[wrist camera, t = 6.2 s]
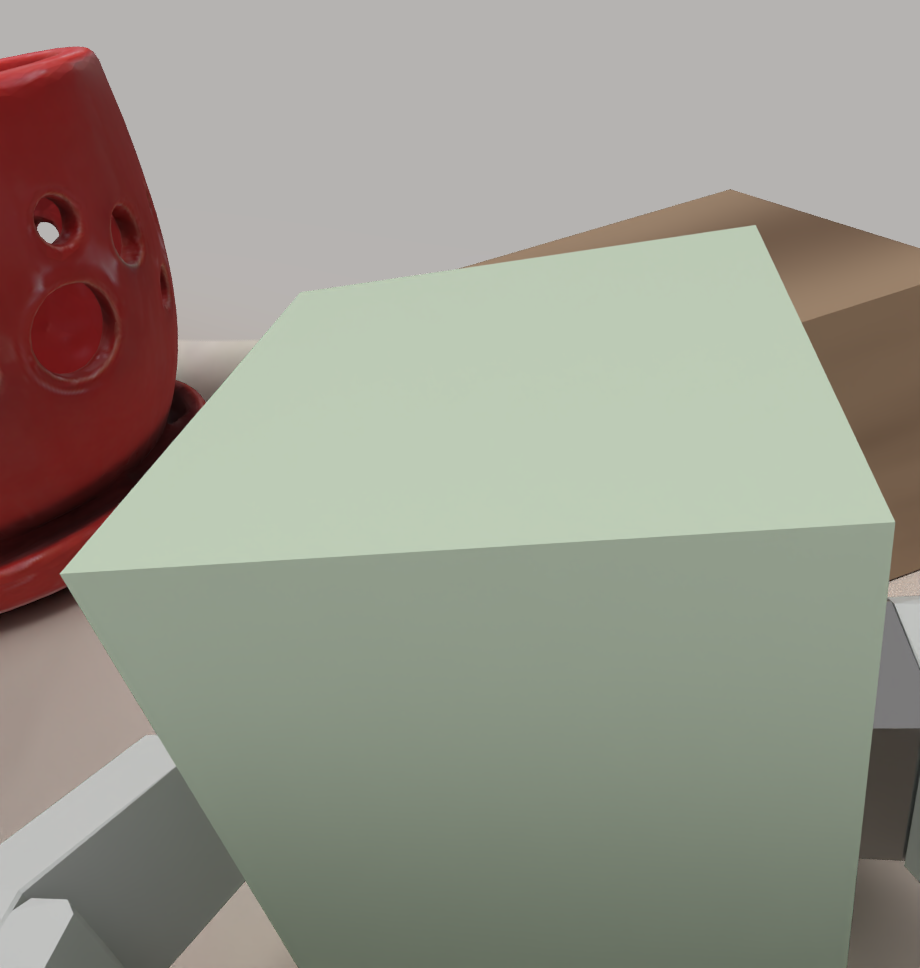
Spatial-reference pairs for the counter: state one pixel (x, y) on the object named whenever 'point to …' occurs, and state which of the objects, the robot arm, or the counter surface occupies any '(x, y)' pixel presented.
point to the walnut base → (826, 324)
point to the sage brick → (520, 617)
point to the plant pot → (76, 319)
